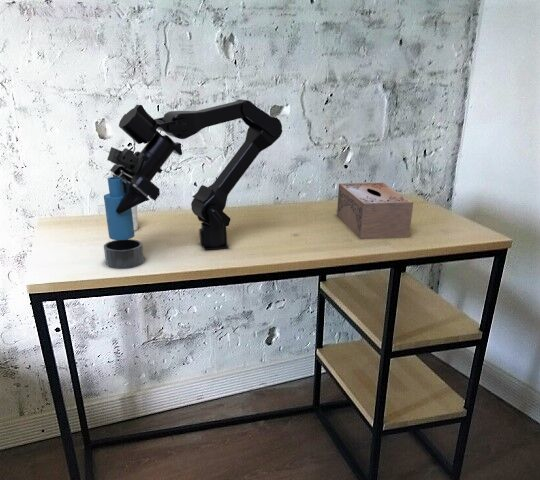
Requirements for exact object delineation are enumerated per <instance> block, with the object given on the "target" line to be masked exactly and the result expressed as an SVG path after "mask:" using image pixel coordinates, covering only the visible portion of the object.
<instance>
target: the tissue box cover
mask: <svg viewBox="0 0 540 480" xmlns="http://www.w3.org/2000/svg"><path fill="white" fill-rule="evenodd" d="M413 209H414V201H413V200H411V199H409V198H408V197H406V196H404V195H403V194H401V193H400V192H398V191H397V190H395V189H393V188H392V187H390V186H389V185H387V184H386V183H384V182H352V183H350V182H349V183H348V182H347V183H338V193H337V207H336V216H337V217H338V218H339V219H340V220H341V221H342V222H343V223H344V224H345V225H346V226H347V227H348V228H349V229H351V231H352V232H353V233H354V234H355V235H356V236H357V237H358V238H359V239H360V240H364V239H367V240H368V239H390V238H391V239H392V238H394V239H395V238H410V235H411V234H410V233H411V225H412V218H413Z"/></svg>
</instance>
